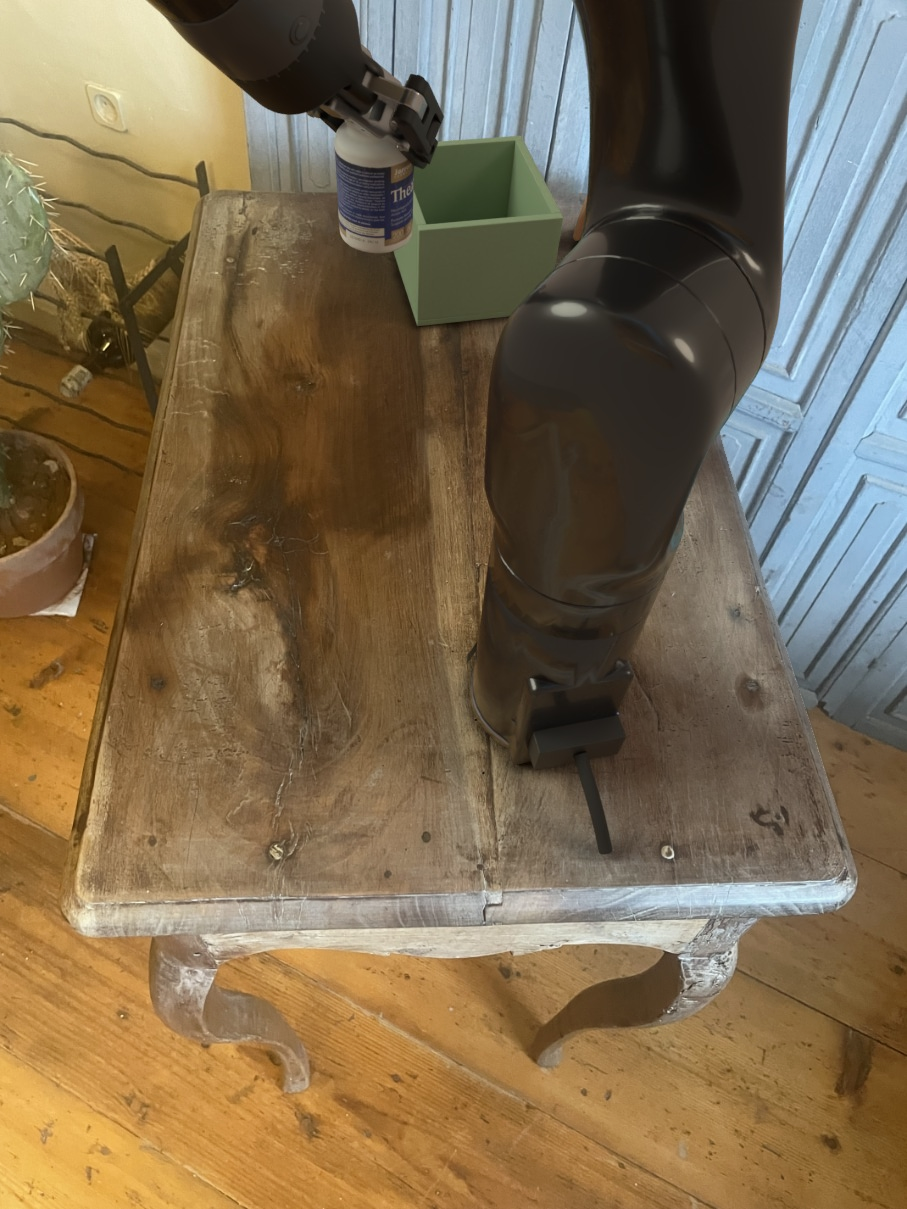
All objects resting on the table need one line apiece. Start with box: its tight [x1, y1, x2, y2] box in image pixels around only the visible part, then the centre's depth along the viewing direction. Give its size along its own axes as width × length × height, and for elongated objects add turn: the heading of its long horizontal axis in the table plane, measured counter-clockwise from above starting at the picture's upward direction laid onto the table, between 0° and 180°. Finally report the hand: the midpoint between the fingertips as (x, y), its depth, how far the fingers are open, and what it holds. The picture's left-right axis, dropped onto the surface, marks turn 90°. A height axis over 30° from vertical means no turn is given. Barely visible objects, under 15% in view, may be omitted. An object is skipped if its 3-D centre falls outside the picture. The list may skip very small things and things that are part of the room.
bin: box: [393, 135, 564, 327], centre depth 80 cm, size 14×13×10 cm
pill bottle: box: [334, 108, 414, 254], centre depth 60 cm, size 5×5×10 cm
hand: (389, 139), depth 60 cm, fingers closed on pill bottle, 5 cm apart
